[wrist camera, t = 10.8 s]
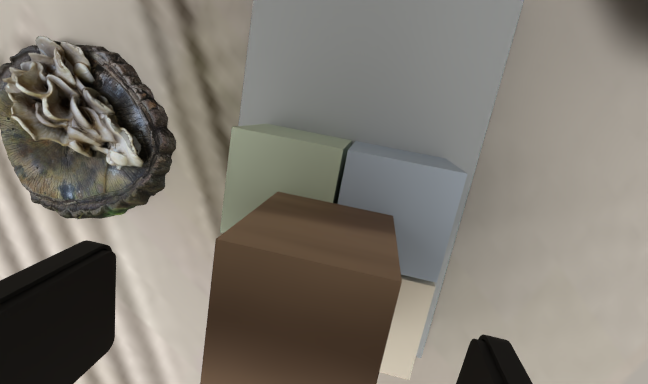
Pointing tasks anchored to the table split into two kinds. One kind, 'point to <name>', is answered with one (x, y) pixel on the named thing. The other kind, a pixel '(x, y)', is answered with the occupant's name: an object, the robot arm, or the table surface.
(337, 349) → the walnut block
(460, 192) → the blue block
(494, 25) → the assembly board
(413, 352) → the cream block
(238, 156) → the sage block
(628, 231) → the table surface
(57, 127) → the grey oval shell
